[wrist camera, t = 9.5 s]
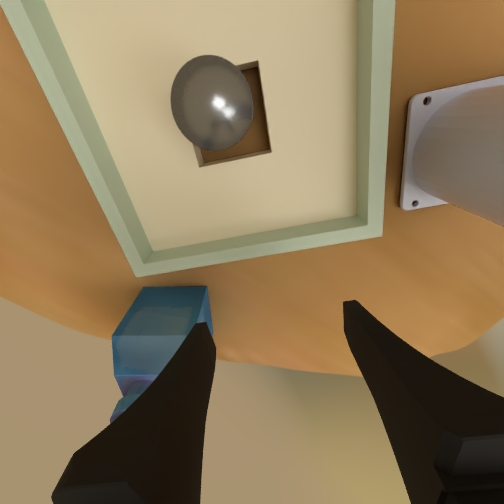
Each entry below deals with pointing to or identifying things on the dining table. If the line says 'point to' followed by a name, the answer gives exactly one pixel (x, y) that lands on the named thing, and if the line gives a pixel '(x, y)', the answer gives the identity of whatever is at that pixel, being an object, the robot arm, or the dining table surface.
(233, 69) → the peg
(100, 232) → the dining table surface
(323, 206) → the box
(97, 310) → the dining table surface
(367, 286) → the dining table surface
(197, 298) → the perfume bottle
